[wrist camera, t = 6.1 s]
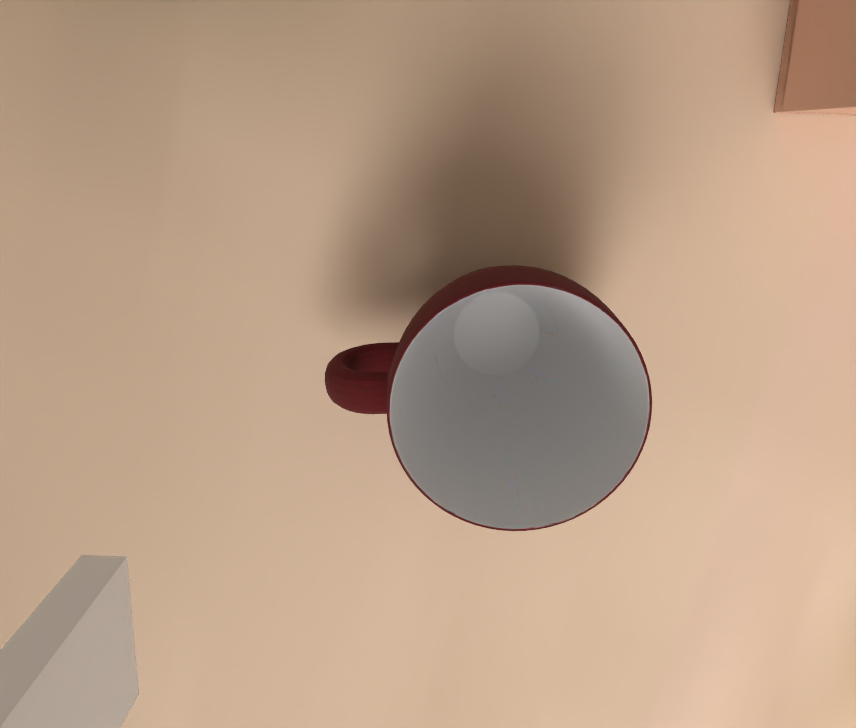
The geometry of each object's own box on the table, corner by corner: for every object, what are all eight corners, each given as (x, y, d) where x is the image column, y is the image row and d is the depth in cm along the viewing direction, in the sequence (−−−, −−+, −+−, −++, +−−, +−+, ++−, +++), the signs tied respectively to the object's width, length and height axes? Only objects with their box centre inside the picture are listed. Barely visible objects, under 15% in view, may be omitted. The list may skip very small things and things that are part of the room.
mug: (369, 447, 35) (341, 567, 25) (324, 271, 32) (275, 328, 23) (605, 401, 34) (670, 507, 24) (575, 217, 32) (633, 254, 22)
